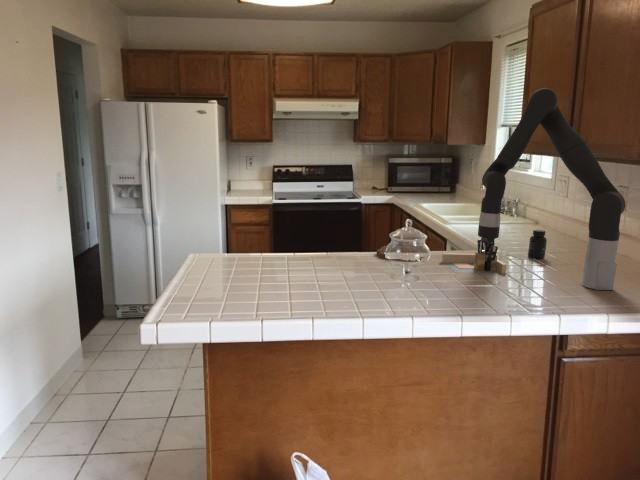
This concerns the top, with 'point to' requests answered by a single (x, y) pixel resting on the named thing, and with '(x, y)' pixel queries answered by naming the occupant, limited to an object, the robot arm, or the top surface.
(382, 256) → the brown rough-edged lump
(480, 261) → the oak block
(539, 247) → the supplement bottle
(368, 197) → the top surface
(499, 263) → the tray
